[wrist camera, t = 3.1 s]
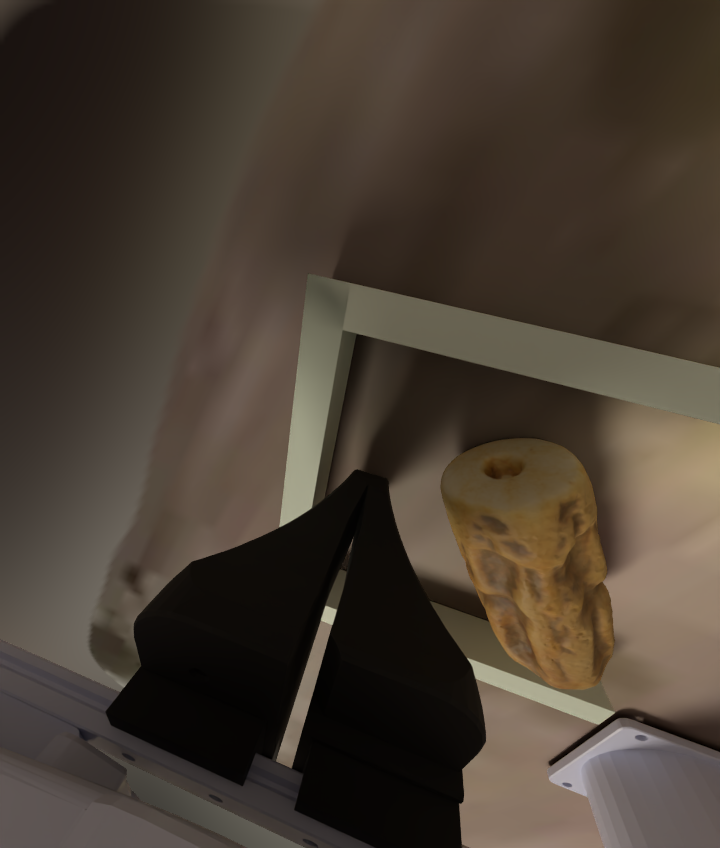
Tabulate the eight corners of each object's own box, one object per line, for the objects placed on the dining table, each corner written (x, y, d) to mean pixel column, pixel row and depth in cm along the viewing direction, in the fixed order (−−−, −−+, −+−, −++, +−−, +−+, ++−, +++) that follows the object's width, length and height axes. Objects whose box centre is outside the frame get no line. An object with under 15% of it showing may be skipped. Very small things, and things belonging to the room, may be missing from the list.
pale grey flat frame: (860, 401, 8) (996, 431, 6) (575, 669, 14) (598, 724, 12) (331, 279, 9) (307, 272, 7) (289, 567, 15) (271, 601, 14)
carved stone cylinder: (586, 590, 12) (656, 711, 8) (484, 597, 13) (506, 705, 10) (552, 420, 10) (629, 487, 6) (433, 450, 11) (437, 519, 7)
